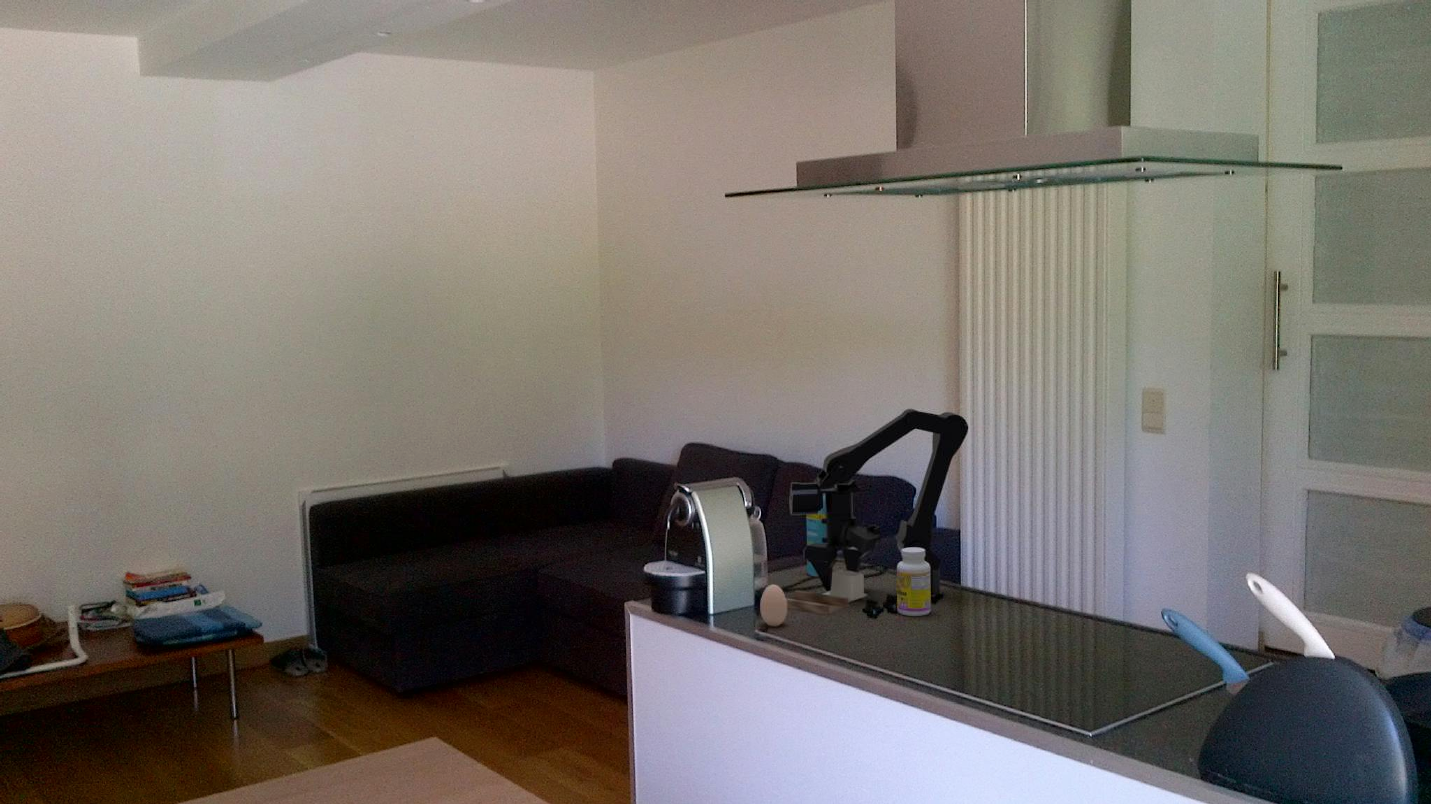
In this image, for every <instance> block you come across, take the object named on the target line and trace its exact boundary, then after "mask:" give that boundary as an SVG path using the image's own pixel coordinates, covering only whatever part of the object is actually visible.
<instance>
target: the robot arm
mask: <svg viewBox="0 0 1431 804" xmlns="http://www.w3.org/2000/svg"><path fill="white" fill-rule="evenodd" d="M914 430H920V431H923V432H927V433H932V441H931V442H932V447H931V448H932V452H931V455H930V459H929V462H928V464H927V468H926V471H925V474H924V478H923V481H922V484H921V487H920V490H919V493H918V497H917V500H916V503H915V507H914V510H913V512H912V515H911V516H910V517H909V519H908V521H905V520H903V519H901V520H900V523H899V529H898V532H897V534H896V535H895V539H896V540H897V543H896V545H897V548H898V550H899V552H900V553H902V551H901V550H902V549H904V548H911V547H916V548H923V549H925V557H924V561H926V562H927V563H929V565H930V586H931V595H932V594H936V593H942V594H941V595H943V594H945V591H944V590H941V572H940V571H941V564H942V560H941V559H940V558H939V557H938V556H937V554H936V553H934V552H933V551H932V550H931V547H932V540H933V520H934V516H935V514H936V510H937V507H938V504H939V501H940V498H941V495H942V491H943V489H944V485H945V482H946V479H947V476H948V472H949V469H950V467H951V462H952V459H954V457H955V455H956V453H957V452H958V451H959V449H960V448H961V446H962V444H963V443H964V441H965V439H966V437H967V435H968V432H969V423H968V422H967V420H966V419H965V418H964V417H963V416H961V415H959V414H956V413H954V412H950V411H946V412H942V413H940V414H938V413H937V414H936V413H933V412H925V411H920V410H919V411H918V410H916V409H914V408H908V409H905V410H904V411H903V412H901V414H900V415H898V416H897V417H895V418H893V419H892V420H890V421H889V422H887V423H886V424H884V425H883V426H882V427H880V428H879V429H876V430H875V431H874V432H872V433H870V434H869V435H868V436H866V437H864V439H863V438H862V439H861V440H860V441H858V442H856V443H854V444H852V445H849V446H846V447H843V448H841V449H838V450H836V451H834V452H832V453H830V454H828V455H827V456H826V457H825V458H824V460H823V464H822V470H821V471H820V472H819V474H818V475H817V477H816V478H815V480H814V482H798V481H796V482H795V481H793V482H790V489H789V496H788V503H789V513H790V516H803V515H804V516H805V515H809V514H818V511H821V509H823V493H825V512H826V518H822V523H823V524H826V537H823V538H822V543H813V544H810V545H807V544H806V546H805V547H804V548H803V549H802V550H803V559H805V560H808V562H810V563H811V564H812V566H813V567H814V569H815V571H816V572H817V574H818V576H817V577H818V578H819V580H820V582H821V584H822V586H823V588H824V590H825V591H826V592H829V591H831V585H832V572H833V567H834V566H835V565H836V564H837V563H838V561H839V560H838V559H837V557H838V552H841V551H842V556H843V560H844V564H845V568H846V569H845V570H847V571H852V572H857V573H859V571H860V567H861V564H862V561H863V558H864V557H865V556H866V555H867V554H868V553H869V552H871V551H872V552H873V551H874V550H876V549H875V548H876V547H877V543H880V542H881V540H882V539H881V529H880V526H878V525H876V524H873V525H869V526H868V527H866V526H864V527H862V526H860V525H859V519H858V517H854V511H853V510H854V509H853V507H854V506H853V493H861V492H862V491H863V490H862V488H861V487H860V486H859V485H858V484H857V483H856V481H855V480H854V479H852V478H853V477H854V476H855V475H857V473H858V472H859V471H860V470H861V469H862V468H863V467H864V465H865V464H866V463H867V462H868V461H869V460H871V459H872V458H873V457H874V456H876V455H878V454H880V453H881V452H882V451H884V450H885V449H887V448H888V447H890V446H891V445H893V444H894V443H896V442H897V441H899V440H900V439H902V438H903V437H905V436H906V435H907V434H910V433H911V432H912V431H914ZM849 480H850V481H849ZM847 482H848V483H847ZM823 543H827V544H823Z"/></svg>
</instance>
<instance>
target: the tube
mask: <svg viewBox="0 0 1431 804" xmlns="http://www.w3.org/2000/svg"><path fill="white" fill-rule="evenodd" d="M822 518H826V512H825V493H823V509H821V511H818V514H809V515H806V546H807V545H810V544H813V543H822V538H823V537H826V524H823V523H822ZM823 544H827V543H823ZM806 560H807V559H806ZM806 562H807V563H806V564H807V566H806V567H807V568H806V569H807V573H808V574H810V575H811V576H810V575H809V576H810V577H819V576H818V574H817V572H816V571H815V569H814V567H813V566H812V564H811V563H810V562H808V560H807V561H806ZM808 574H807V575H808Z"/></svg>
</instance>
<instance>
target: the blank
mask: <svg viewBox="0 0 1431 804" xmlns="http://www.w3.org/2000/svg"><path fill="white" fill-rule="evenodd" d="M864 579H865V578H864V573H861V572H858V573H857V572H852V571H847V569H839V570H836V571H832V585H831V591H830V595H831V596H837V597H843V598H848V599H849V600H850V601H851V602H853V601H852V600H854V601H857V600H859V599H862V598H865V597H864V594H865V589H864V588H865V587H864V586H865V585H864V583H865V582H864V581H865V580H864ZM856 599H857V600H856Z"/></svg>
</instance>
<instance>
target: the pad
mask: <svg viewBox="0 0 1431 804" xmlns="http://www.w3.org/2000/svg"><path fill="white" fill-rule="evenodd" d="M822 594H824V595H830V591H826V592H824V593H822ZM867 596H868V594H867V593H864V597H863V598H865V597H867ZM857 600H858V599H856V600H852V601H850V600H849V603H851V602H853V601H857Z"/></svg>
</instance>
